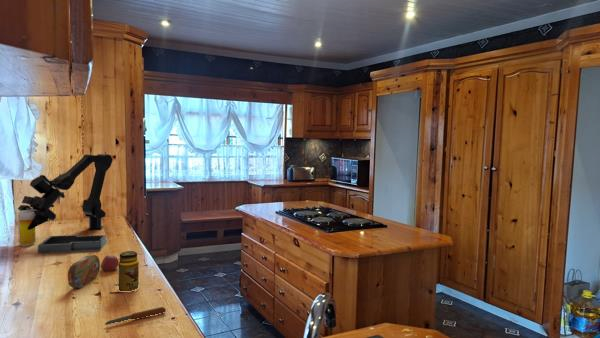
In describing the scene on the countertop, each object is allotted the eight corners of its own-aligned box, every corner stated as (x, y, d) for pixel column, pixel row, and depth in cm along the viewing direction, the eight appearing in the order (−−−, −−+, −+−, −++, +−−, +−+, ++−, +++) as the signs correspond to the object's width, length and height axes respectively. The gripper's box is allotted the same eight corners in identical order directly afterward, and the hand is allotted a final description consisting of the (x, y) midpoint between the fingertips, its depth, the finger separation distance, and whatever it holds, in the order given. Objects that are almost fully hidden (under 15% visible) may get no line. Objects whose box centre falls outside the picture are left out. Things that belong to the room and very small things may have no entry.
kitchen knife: (164, 312, 111) (164, 305, 111) (165, 314, 110) (165, 307, 110) (104, 326, 102) (104, 319, 102) (105, 328, 101) (105, 321, 101)
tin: (75, 292, 123) (75, 266, 122) (65, 291, 123) (65, 265, 122) (100, 275, 138) (100, 252, 137) (92, 274, 138) (91, 251, 137)
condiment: (137, 292, 124) (137, 256, 123) (109, 293, 122) (108, 257, 121) (141, 283, 131) (141, 249, 130) (114, 285, 129) (114, 250, 128)
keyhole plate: (50, 243, 172) (50, 236, 172) (106, 241, 179) (106, 233, 179) (38, 254, 158) (37, 245, 158) (100, 250, 165) (100, 242, 164)
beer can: (37, 244, 170) (36, 211, 169) (20, 247, 166) (19, 213, 164) (33, 241, 174) (32, 209, 173) (17, 244, 170) (16, 210, 169)
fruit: (115, 276, 142) (126, 257, 143) (100, 271, 139) (112, 251, 140) (113, 271, 147) (124, 252, 148) (98, 266, 144) (110, 246, 145)
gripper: (21, 187, 175) (-5, 215, 166) (48, 190, 168) (22, 220, 159) (39, 201, 183) (15, 229, 174) (66, 205, 176) (42, 235, 167)
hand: (23, 228), depth 168 cm, fingers closed on beer can, 6 cm apart
